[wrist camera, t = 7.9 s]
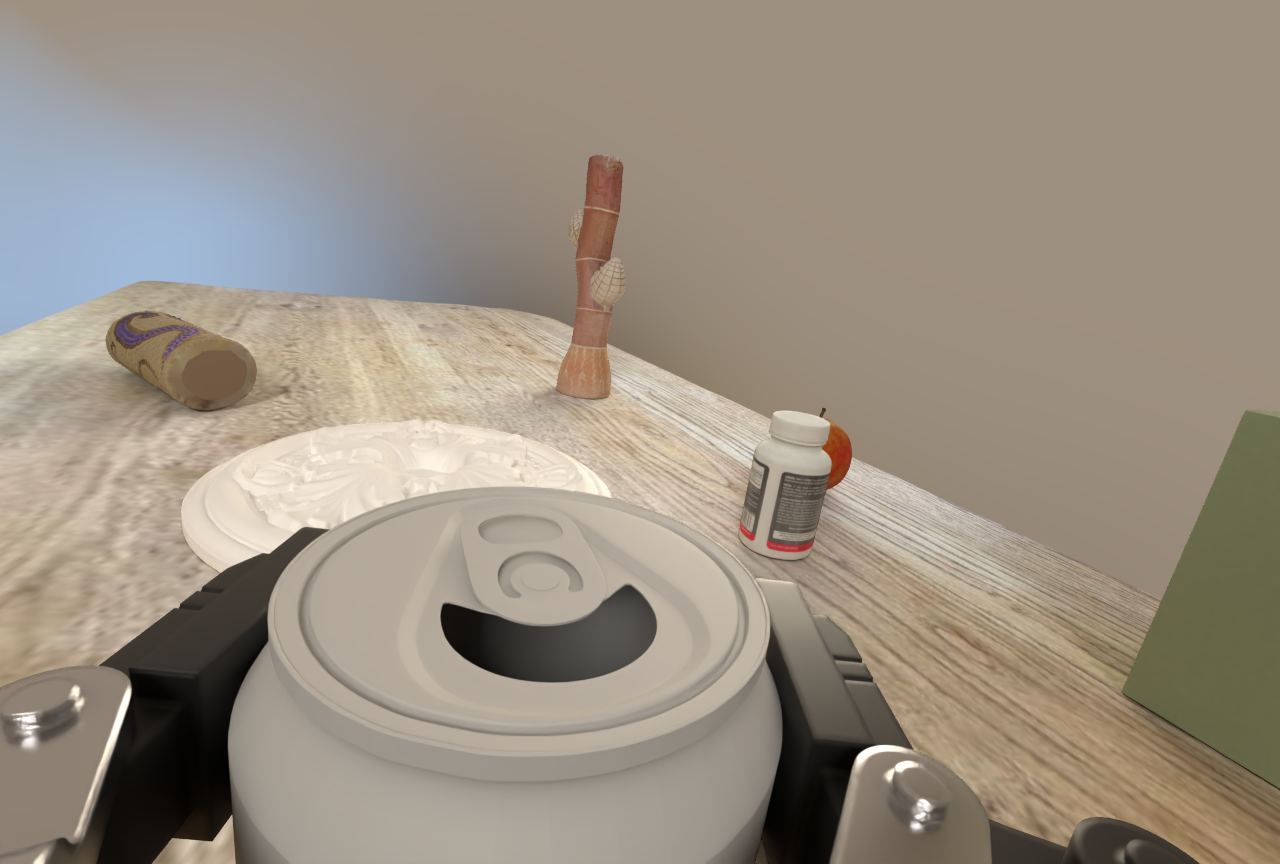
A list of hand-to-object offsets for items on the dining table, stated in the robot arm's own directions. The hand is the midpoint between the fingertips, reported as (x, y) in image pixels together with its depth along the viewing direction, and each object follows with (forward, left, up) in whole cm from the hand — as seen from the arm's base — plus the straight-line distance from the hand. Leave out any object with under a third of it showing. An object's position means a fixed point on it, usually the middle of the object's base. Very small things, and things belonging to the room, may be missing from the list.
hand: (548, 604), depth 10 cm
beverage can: (-1, +2, -10) cm, 10 cm away
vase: (+40, -61, -13) cm, 74 cm away
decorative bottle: (+65, -23, -13) cm, 70 cm away
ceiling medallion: (+27, -22, -13) cm, 37 cm away
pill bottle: (+4, -34, -13) cm, 37 cm away
